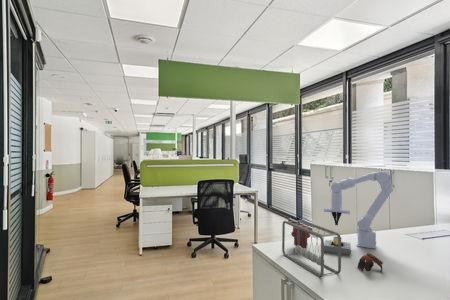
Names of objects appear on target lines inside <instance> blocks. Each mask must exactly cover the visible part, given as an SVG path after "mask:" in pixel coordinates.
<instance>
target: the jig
mask: <svg viewBox="0 0 450 300" xmlns="http://www.w3.org/2000/svg"><path fill="white" fill-rule="evenodd" d="M351 245H352V244H351V242H345V241H341V256H347V257H351V251H352V249H351V248H352V247H351ZM324 253H326V254H327V253H328V254H335V255H338V246H334V245H333V239H332V240H331V239H325V240H324Z"/></svg>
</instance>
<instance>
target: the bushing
mask: <svg viewBox="0 0 450 300" xmlns="http://www.w3.org/2000/svg"><path fill="white" fill-rule="evenodd" d="M332 241H333V245H334V246H338V236H333V238H332Z"/></svg>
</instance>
